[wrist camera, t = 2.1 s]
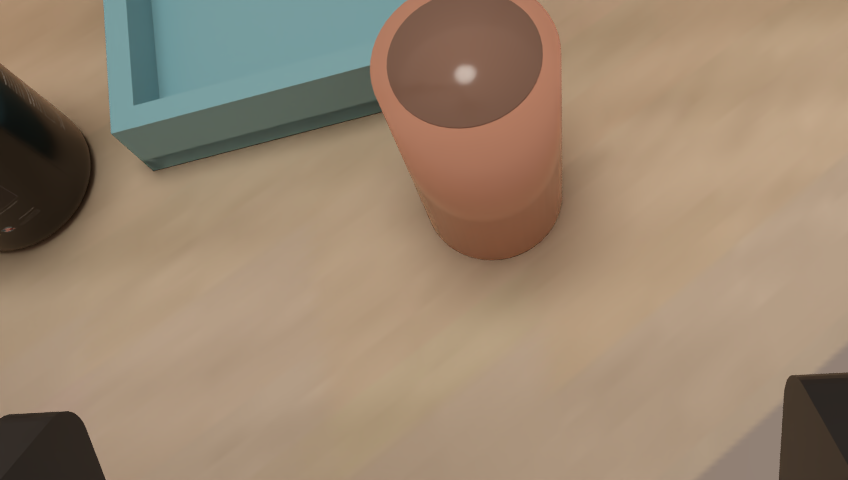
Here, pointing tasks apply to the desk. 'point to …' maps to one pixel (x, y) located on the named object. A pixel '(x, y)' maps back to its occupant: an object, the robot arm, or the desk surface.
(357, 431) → the desk surface
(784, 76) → the desk surface
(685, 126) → the desk surface
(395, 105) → the terracotta cup
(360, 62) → the teal tray
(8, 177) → the supplement bottle
